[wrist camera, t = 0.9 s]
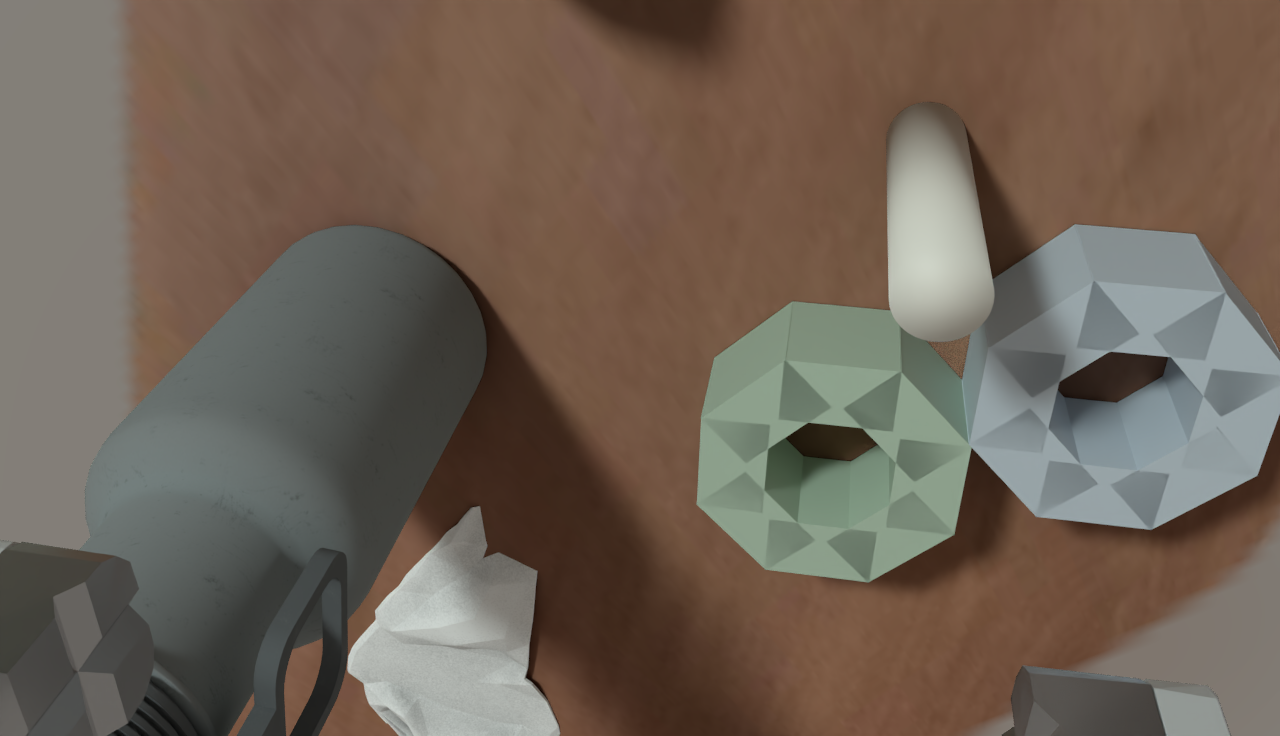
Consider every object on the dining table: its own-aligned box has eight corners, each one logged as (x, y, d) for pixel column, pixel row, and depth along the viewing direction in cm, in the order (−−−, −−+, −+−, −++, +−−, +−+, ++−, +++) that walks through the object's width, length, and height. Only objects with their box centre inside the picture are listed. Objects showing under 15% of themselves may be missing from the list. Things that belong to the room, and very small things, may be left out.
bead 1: (851, 258, 45) (848, 315, 42) (1008, 430, 48) (1020, 498, 44) (663, 394, 50) (645, 456, 46) (816, 544, 53) (811, 614, 49)
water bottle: (510, 244, 48) (152, 842, 24) (494, 439, 53) (188, 1084, 29) (267, 196, 48) (-310, 730, 25) (276, 392, 54) (-193, 986, 30)
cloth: (369, 457, 56) (351, 486, 54) (652, 535, 55) (644, 567, 53) (333, 799, 70) (318, 832, 68) (559, 863, 69) (550, 897, 67)
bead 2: (1148, 174, 42) (1175, 228, 38) (1300, 366, 44) (1339, 434, 41) (915, 329, 46) (919, 391, 43) (1065, 494, 49) (1081, 565, 45)
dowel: (934, 85, 41) (952, 231, 31) (982, 144, 42) (1015, 304, 32) (870, 135, 43) (867, 290, 33) (918, 191, 43) (930, 359, 33)
